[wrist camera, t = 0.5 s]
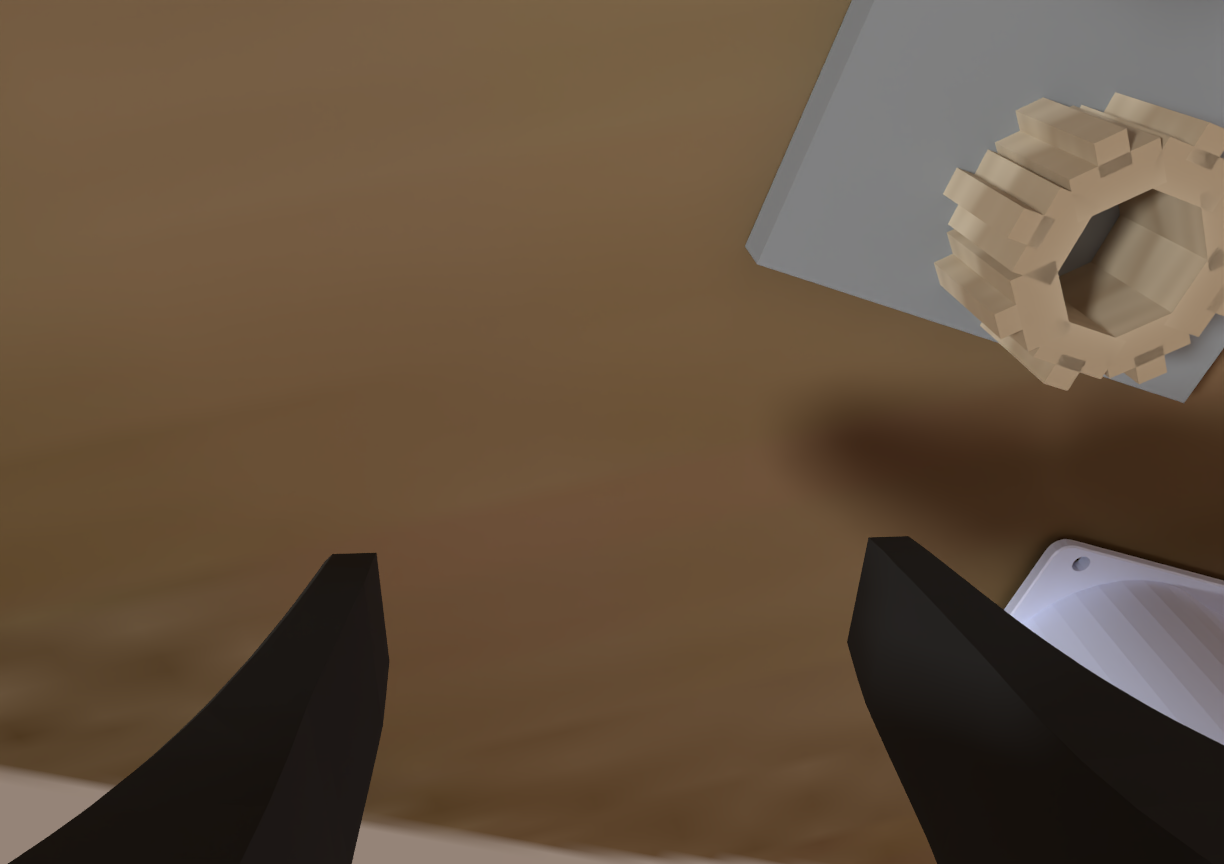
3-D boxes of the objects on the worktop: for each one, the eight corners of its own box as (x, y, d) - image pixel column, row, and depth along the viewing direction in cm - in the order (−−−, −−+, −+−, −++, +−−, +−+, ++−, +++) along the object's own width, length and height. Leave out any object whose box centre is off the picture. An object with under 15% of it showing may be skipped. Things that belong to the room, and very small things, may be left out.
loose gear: (1227, 139, 20) (1335, 175, 17) (1084, 360, 22) (1160, 420, 20) (1018, 51, 19) (1099, 75, 16) (889, 295, 21) (942, 351, 18)
